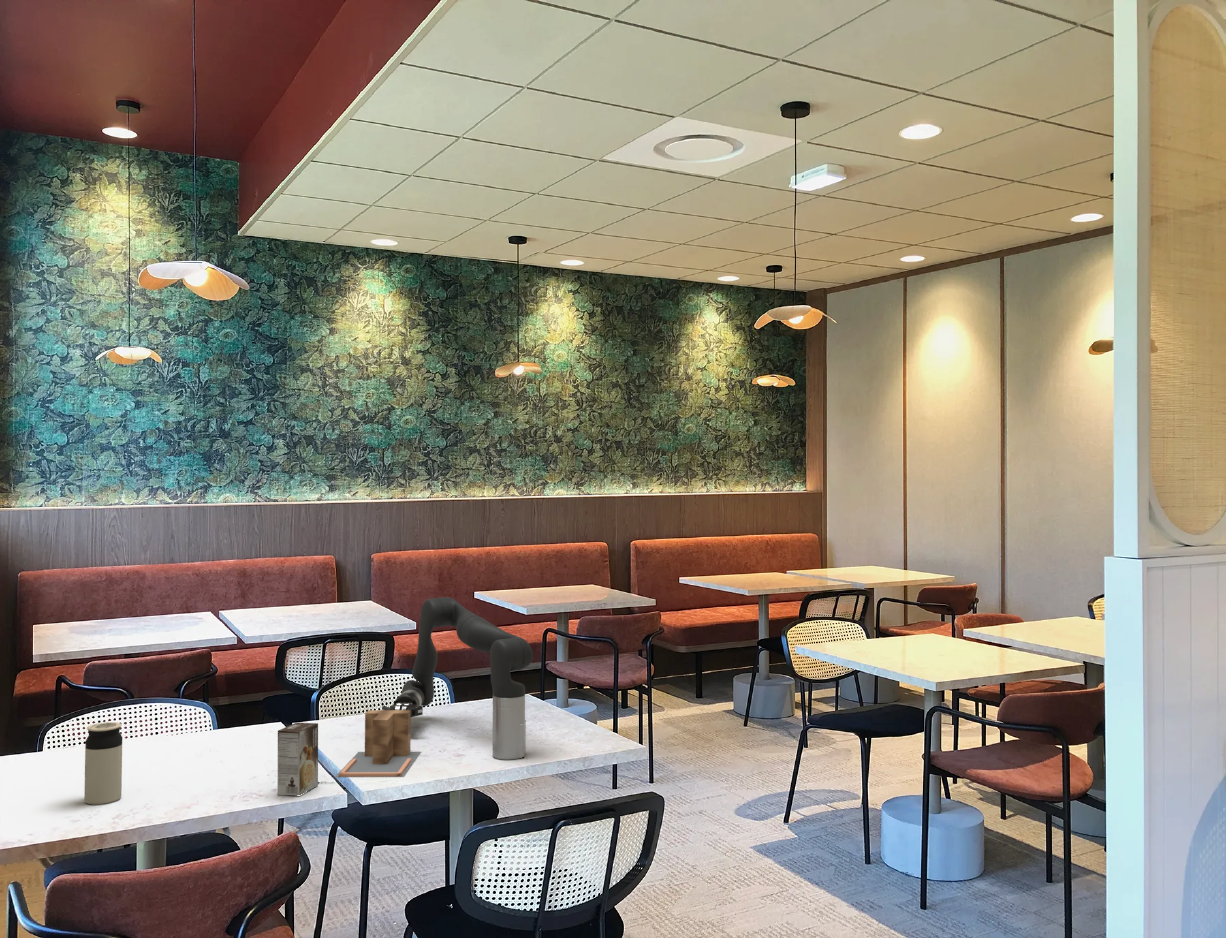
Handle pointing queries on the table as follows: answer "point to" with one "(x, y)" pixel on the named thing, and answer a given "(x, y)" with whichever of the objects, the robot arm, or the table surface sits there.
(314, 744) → the coffee box
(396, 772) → the board
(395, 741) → the t block
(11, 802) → the table surface
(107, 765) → the travel mug
